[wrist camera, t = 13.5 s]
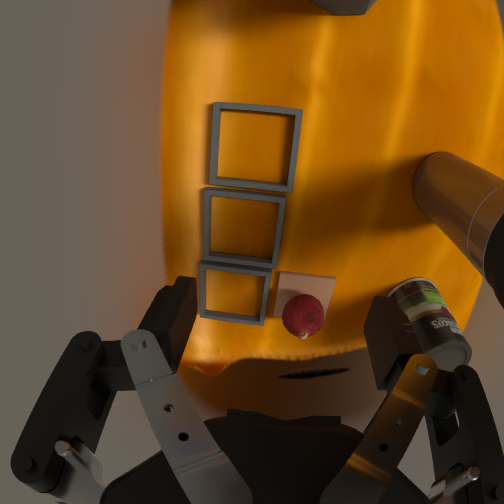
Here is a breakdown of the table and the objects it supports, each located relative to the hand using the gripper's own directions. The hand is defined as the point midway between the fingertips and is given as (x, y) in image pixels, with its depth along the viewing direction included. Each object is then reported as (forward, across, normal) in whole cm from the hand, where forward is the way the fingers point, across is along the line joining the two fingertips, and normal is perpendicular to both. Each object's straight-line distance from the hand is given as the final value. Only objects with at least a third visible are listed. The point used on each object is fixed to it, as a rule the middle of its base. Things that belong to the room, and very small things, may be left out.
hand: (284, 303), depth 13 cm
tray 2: (+25, +4, +8) cm, 27 cm away
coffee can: (+25, -23, +18) cm, 39 cm away
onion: (+25, -5, +18) cm, 31 cm away
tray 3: (+25, +5, +19) cm, 32 cm away
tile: (+25, -5, +18) cm, 32 cm away
